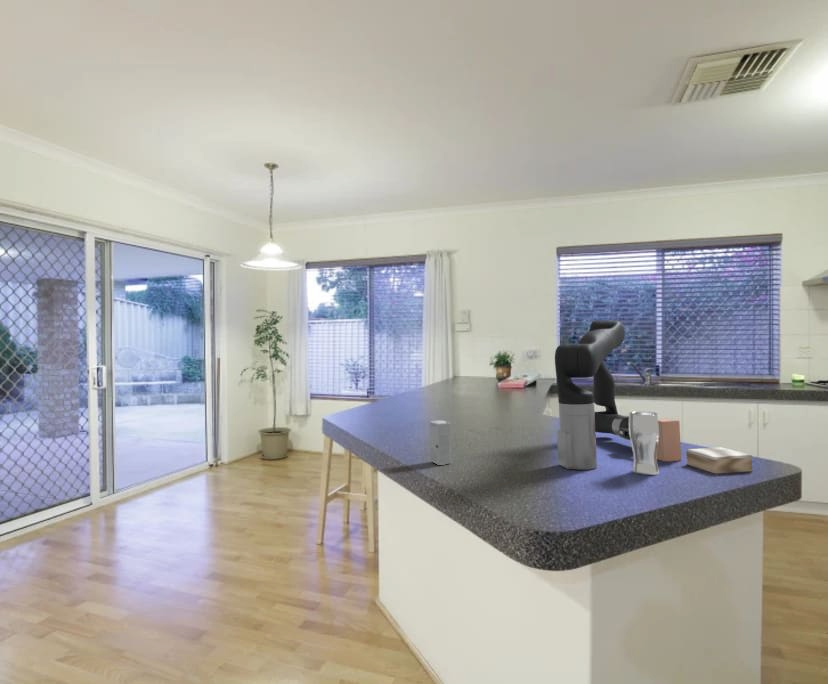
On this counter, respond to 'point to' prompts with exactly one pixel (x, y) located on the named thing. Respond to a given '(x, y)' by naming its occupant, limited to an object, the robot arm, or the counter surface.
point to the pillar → (669, 440)
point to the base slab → (719, 460)
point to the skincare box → (440, 441)
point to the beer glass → (644, 442)
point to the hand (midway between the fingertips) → (661, 436)
